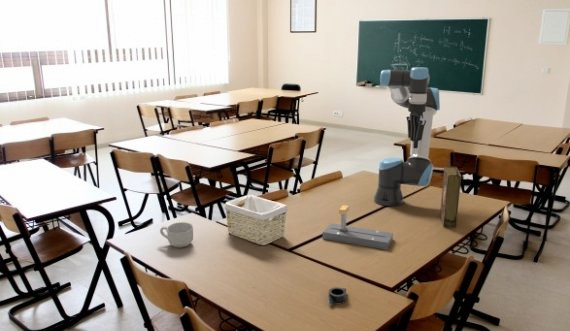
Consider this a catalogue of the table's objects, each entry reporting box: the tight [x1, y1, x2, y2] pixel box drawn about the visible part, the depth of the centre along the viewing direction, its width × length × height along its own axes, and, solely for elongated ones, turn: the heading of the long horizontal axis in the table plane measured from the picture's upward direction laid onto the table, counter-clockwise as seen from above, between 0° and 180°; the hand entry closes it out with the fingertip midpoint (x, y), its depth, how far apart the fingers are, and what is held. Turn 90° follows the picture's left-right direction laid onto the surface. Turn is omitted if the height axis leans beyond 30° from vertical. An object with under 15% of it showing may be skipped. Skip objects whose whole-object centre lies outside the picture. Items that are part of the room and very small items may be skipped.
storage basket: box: [224, 194, 288, 246], centre depth 207 cm, size 24×16×15 cm
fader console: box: [322, 223, 394, 250], centre depth 204 cm, size 28×11×3 cm, turn 67°
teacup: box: [159, 221, 194, 249], centre depth 198 cm, size 14×11×8 cm
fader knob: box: [338, 204, 350, 231], centre depth 205 cm, size 3×6×10 cm, turn 157°
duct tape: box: [327, 286, 347, 306], centre depth 157 cm, size 8×10×3 cm
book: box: [439, 165, 462, 229], centre depth 221 cm, size 16×6×25 cm, turn 168°
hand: (413, 154), depth 217 cm, fingers closed
